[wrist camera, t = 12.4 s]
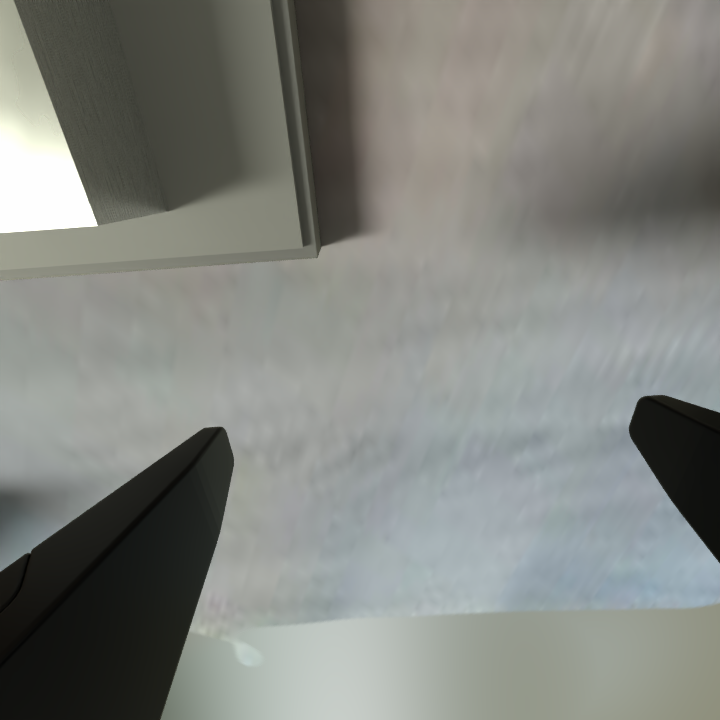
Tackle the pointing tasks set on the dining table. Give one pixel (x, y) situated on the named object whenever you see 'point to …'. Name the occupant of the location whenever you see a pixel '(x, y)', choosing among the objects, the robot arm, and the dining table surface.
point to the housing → (70, 120)
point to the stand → (202, 146)
